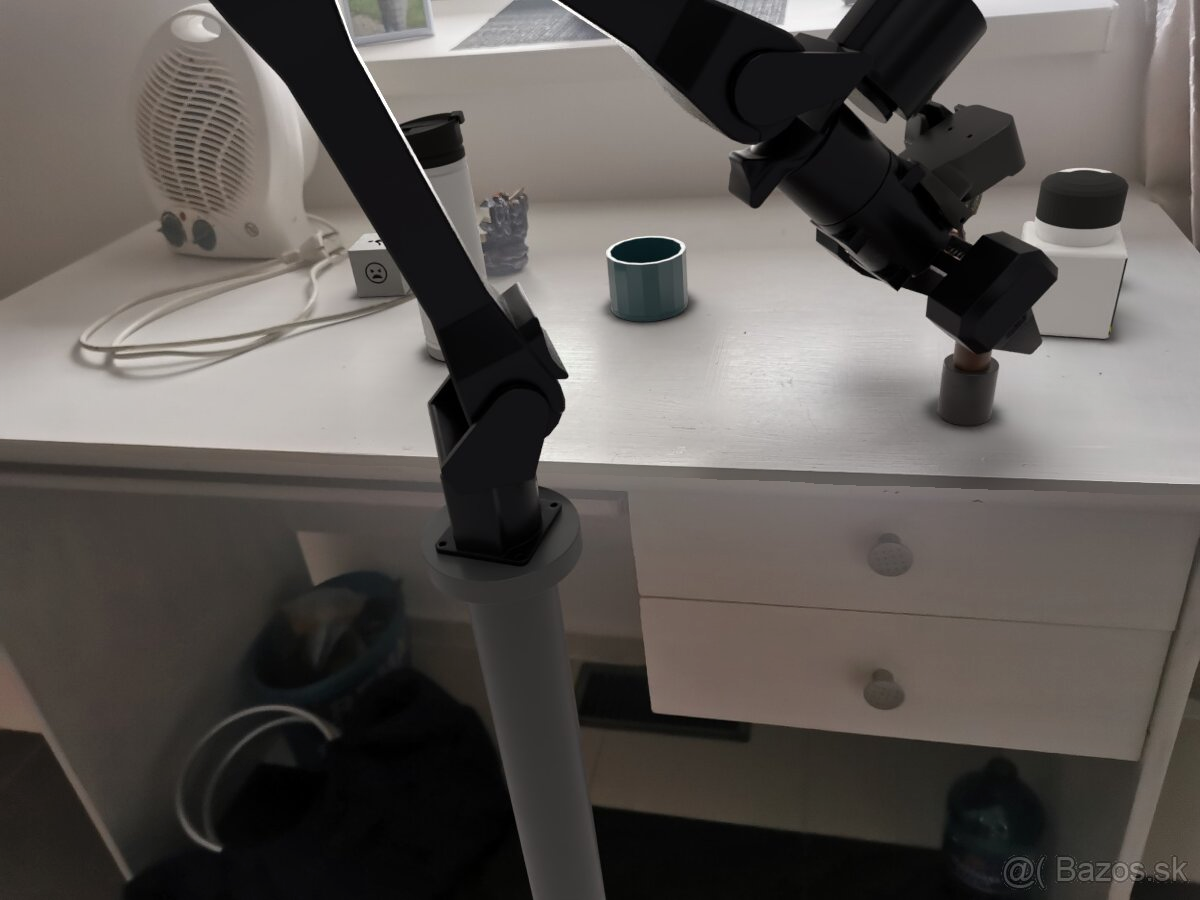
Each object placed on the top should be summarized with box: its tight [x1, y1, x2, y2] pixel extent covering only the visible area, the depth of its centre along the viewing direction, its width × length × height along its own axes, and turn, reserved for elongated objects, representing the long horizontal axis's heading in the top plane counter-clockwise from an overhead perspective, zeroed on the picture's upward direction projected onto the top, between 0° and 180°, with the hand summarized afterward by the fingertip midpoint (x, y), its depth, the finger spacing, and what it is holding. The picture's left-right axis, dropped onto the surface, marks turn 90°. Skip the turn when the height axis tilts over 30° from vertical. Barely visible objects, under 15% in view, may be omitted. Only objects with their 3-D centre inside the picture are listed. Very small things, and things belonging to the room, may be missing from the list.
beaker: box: [605, 235, 689, 323], centre depth 84 cm, size 7×7×6 cm
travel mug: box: [398, 109, 488, 362], centre depth 76 cm, size 6×7×20 cm
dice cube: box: [347, 232, 411, 298], centre depth 94 cm, size 5×5×5 cm
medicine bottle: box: [1020, 167, 1129, 340], centre depth 72 cm, size 7×7×12 cm
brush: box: [936, 340, 1000, 427], centre depth 62 cm, size 4×4×11 cm
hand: (991, 319), depth 61 cm, fingers open, 9 cm apart
